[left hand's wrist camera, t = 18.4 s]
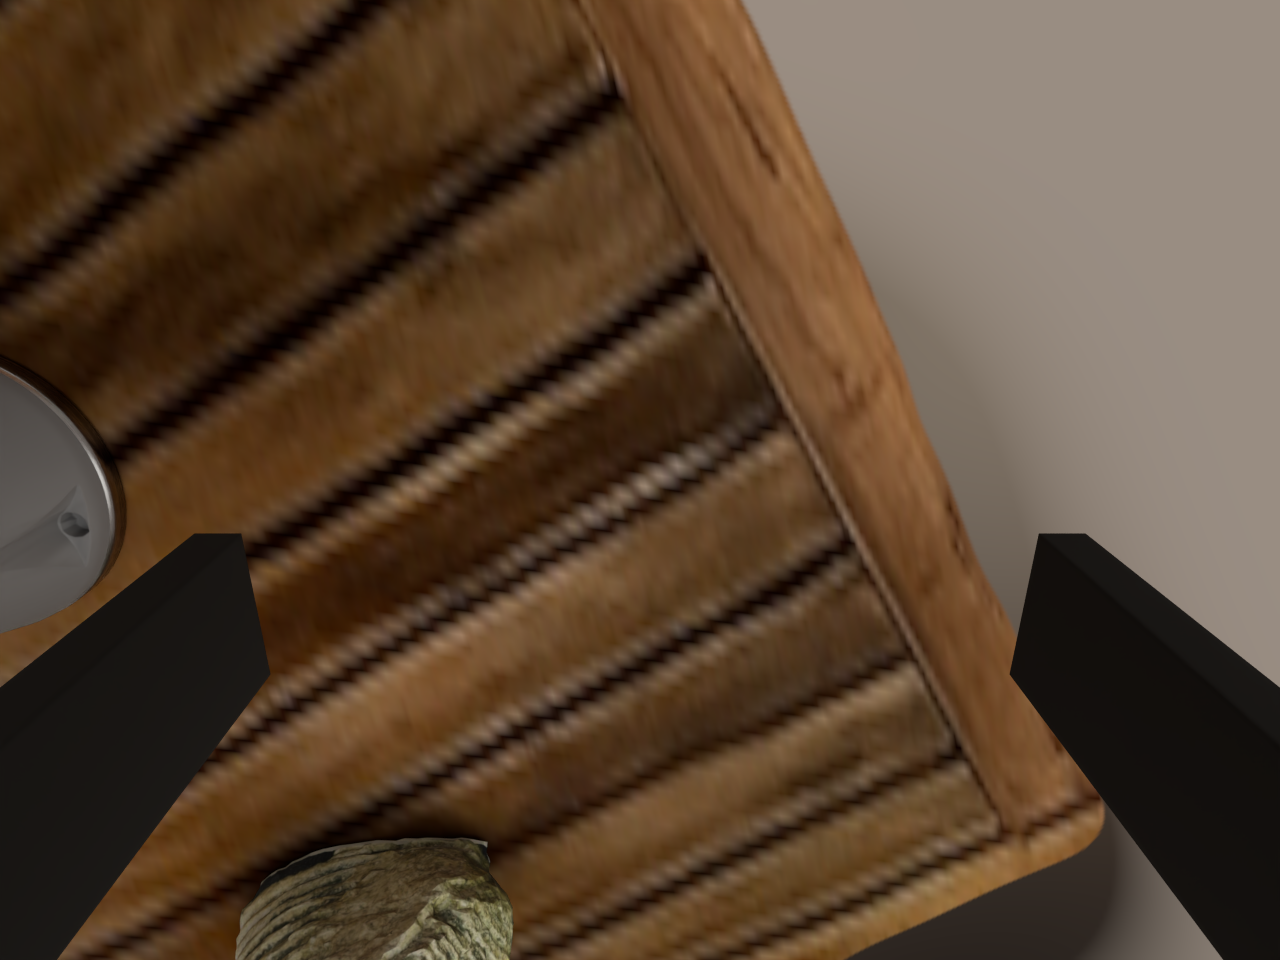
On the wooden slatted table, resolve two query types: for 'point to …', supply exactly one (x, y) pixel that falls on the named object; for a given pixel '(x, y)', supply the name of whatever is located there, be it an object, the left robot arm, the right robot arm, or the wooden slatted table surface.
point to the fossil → (381, 905)
